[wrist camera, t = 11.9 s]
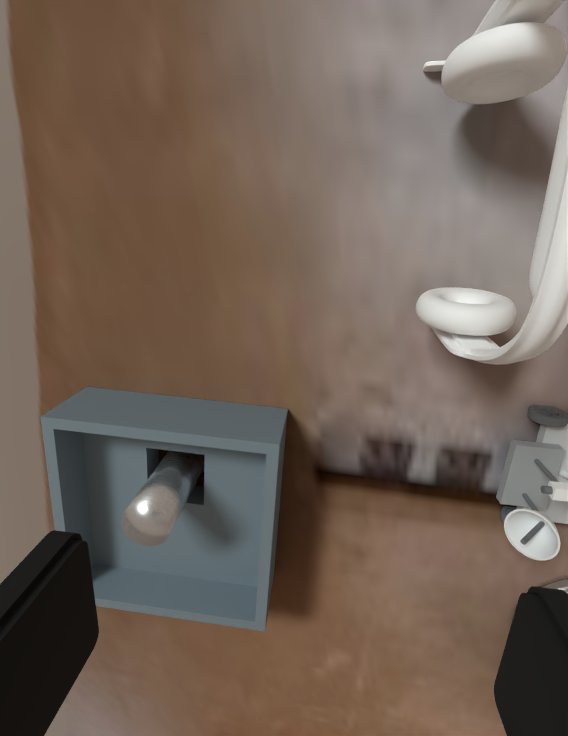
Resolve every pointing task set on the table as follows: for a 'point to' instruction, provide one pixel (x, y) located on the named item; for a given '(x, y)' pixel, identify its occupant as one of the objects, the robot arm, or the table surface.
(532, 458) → the toy car
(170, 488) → the peg
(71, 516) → the open box
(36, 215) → the table surface
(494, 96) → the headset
